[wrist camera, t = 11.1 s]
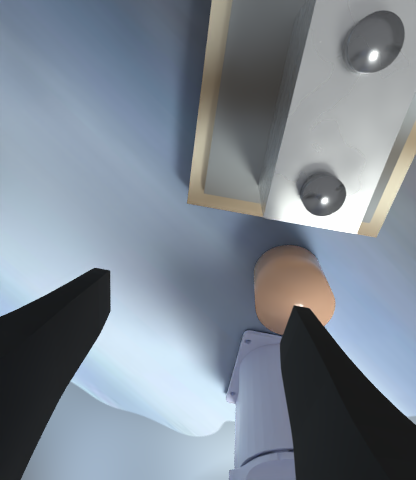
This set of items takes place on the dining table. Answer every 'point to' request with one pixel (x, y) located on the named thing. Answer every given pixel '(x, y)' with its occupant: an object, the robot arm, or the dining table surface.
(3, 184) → the dining table surface
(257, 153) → the birch plinth
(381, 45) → the alloy housing
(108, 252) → the dining table surface
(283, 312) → the peach rounded cylinder
